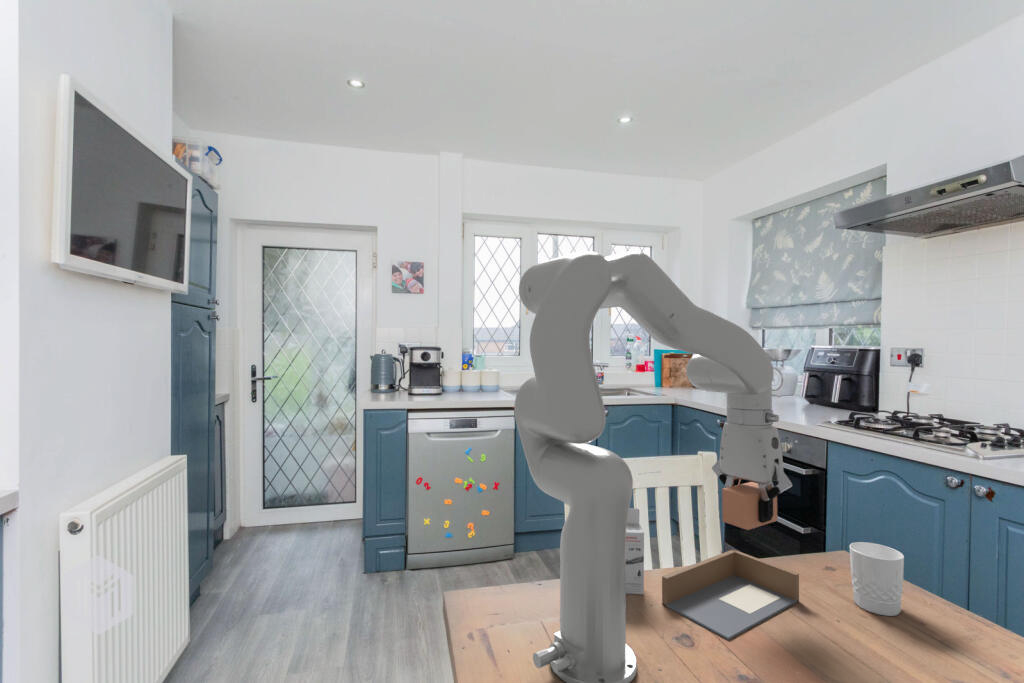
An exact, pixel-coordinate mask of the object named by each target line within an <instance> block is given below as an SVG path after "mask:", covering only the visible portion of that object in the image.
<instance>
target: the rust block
mask: <svg viewBox="0 0 1024 683" xmlns="http://www.w3.org/2000/svg"><path fill="white" fill-rule="evenodd" d="M721 489H722V490H721V498H722V500H721V501H722V503H721V505H722V507H721V510H722V513H721V514H722V517H721V518H722V522H723V523H726V524H728V525H732V526H735V527H737V528H740V529H744V530H746V531H749V530H752V529H756V528H760V527H761V526H765V525H768V524H771V523H774V522H778V496H777V497H776V498H774V499H773V517H772V519H771V520H770V521H767V522H764V523H762V522H760V521H759V512H758V501H759V500H761V499H762V497H761V494H760V490H759V487H758V483H756V482H752V481H748V482H744V483H740V484H739V485H736V486H732V487H727V488H725V487H724V488H721Z"/></svg>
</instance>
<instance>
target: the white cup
mask: <svg viewBox="0 0 1024 683" xmlns="http://www.w3.org/2000/svg"><path fill="white" fill-rule="evenodd" d="M849 561H850V574H851V585H852V595H853V600H854V601H853V602H854V604H856V605H857V606H858V607H859V608H860V609H862V610H865V611H867V612H870V613H873V614H876V615H880V616H887V617H892V616H893V617H895V616H898V615H899V614H900V613H901V611H902V597H903V586H904V571H905V570H904V568H905V566H904V565H905V562H904V561H905V556H904V554H903V553H902V552H901V551H899V550H897V549H894V548H892V547H890V546H887V545H883V544H879V543H875V542H866V541H858V542H852V543H850V544H849Z"/></svg>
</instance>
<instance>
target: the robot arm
mask: <svg viewBox="0 0 1024 683" xmlns="http://www.w3.org/2000/svg"><path fill="white" fill-rule="evenodd" d="M518 294H519V298H520V300H521V303H522V304H523V306H524V307H525V308H526V309H527V310H528V311H529V312H531V313H533V314H535V316H534V319H533V322H532V325H531V328H530V335H529V353H530V358H531V362H532V367H533V372H534V376H532V377H531V378H528V379H527V380H526V381H525V382H523V384H522V385H521V386H520V387H519V390H518V391H517V393H516V396H515V399H514V419H515V424H516V428H517V431H518V434H519V438H520V442H521V446H522V449H523V453H524V456H525V459H526V462H527V466H528V469H529V472H530V475H531V477H532V479H533V482H534V484H535V485H536V486H537V488H538V489H539V490H541V491H542V492H543V493H545V494H546V495H548V496H550V497H553V498H555V499H556V500H558V501H561V502H563V503H564V504H566V505H568V507H569V511H568V515H567V517H566V520H565V522H564V524H563V527H562V530H561V534H560V539H559V540H560V541H559V543H560V546H559V556H560V557H559V558H560V561H559V566H560V567H559V568H560V571H559V577H560V578H559V584H560V585H559V586H560V587H559V589H560V590H559V599H560V600H559V602H560V604H559V607H560V608H559V616H560V617H559V618H560V619H559V631H557V632H554V634H553V637H554V640H553V641H554V642H551V643H550V644H549V647H548V648H543V649H541V650H538V651H536V652H534V653H533V654H532V660H533V664H534V666H535V667H536V668H537V669H541V668H543V667H546V666H548V665H550V667H551V669H552V671H553V672H554V673H555V675H557V677H559V679H561V680H562V681H563V682H565V683H631V682H632V681H633V680H634V678H635V677H636V675H637V671H638V669H637V667H638V661H637V657H636V655H635V652H634V651H633V649H632V648H631V647H630V646H629V645H628V644H627V643H626V641H627V638H626V636H627V634H626V633H627V627H626V625H627V620H626V619H627V618H626V617H627V616H626V615H627V614H626V613H627V610H626V609H627V608H626V605H627V604H626V601H627V600H626V599H627V593H626V525H627V517H628V511H629V508H630V505H631V500H632V495H633V488H634V480H633V474H632V471H631V470H630V467H629V465H628V463H626V461H625V460H624V459H623V458H622V457H620V455H619V454H616V453H615V452H613V451H611V450H609V449H608V448H607V449H606V448H604V447H602V446H601V447H600V446H596V445H593V444H590V443H592V442H594V441H596V440H597V439H598V438H600V436H601V435H602V434H603V432H604V429H605V427H606V422H607V421H606V419H607V417H606V409H605V405H604V404H605V403H604V400H603V396H602V392H601V388H600V384H599V380H598V376H597V372H596V368H595V365H594V362H593V354H592V351H591V344H590V343H591V342H590V339H591V330H592V326H593V322H594V321H595V318H596V316H597V314H598V312H599V310H603V309H610V308H611V309H612V308H621V309H622V310H623V311H624V312H626V314H628V316H630V317H631V318H632V319H633V320H634V321H635V322H636V323H638V325H639V326H640V327H641V328H642V329H643V330H644V331H645V332H646V333H647V334H648V335H649V336H650V337H652V339H653V340H655V342H657V343H659V344H661V345H664V346H666V347H669V348H672V349H674V350H677V351H681V352H685V353H688V354H689V353H690V354H694V355H692V356H691V357H690V358H689V360H688V362H687V364H686V369H685V370H686V372H685V373H686V377H687V380H688V381H689V382H690V384H692V386H694V387H695V388H697V389H699V390H701V391H705V392H713V393H726V421H725V422H724V424H723V425H722V426H723V428H722V431H721V437H720V438H721V439H720V446H719V447H720V448H719V458H718V460H717V461H716V462H715V464H714V465H712V467H711V470H712V471H713V472H714V474H715V475H716V476H717V477H718V479H719V480H720V481H721V483H722V484H723V485H724V488H727V487H732V486H736V485H740V484H741V480H745V481H747V482H755V483H758V487H759V490H760V494H761V497H762V499H761V500H759V501H758V512H759V521H760V522H762V523H764V522H767V521H770V520H771V519H772V517H773V499H774V498H776V497H777V498H778V496H779V495H780V494H782V493H783V492H784V491H786V490H788V489H790V488H792V487H793V483H792V481H791V480H790V478H789V477H788V475H787V474H786V473H785V471H784V461H783V450H782V443H781V439H780V438H781V437H780V434H779V431H778V430H779V429H778V427H777V426H774V425H773V424H774V423H778V422H780V421H779V420H780V416H779V414H777V413H776V414H775V413H774V410H773V409H772V408H773V394H772V393H773V389H772V388H773V386H772V383H773V380H774V373H775V372H774V368H773V363H772V358H771V356H770V354H769V353H768V352H766V350H765V349H764V348H763V346H762V345H761V344H760V343H758V341H757V340H756V339H755V337H753V336H752V335H751V333H749V332H748V331H746V330H745V329H744V328H742V327H741V326H740V325H737V324H736V323H734V322H732V321H729V320H728V319H726V318H723V317H721V316H719V315H717V314H715V313H713V312H711V311H708V310H707V309H704V308H702V307H699V306H697V305H696V304H694V303H693V301H692V300H690V298H689V297H688V296H687V295H686V294H685V293H684V292H683V291H682V289H680V288H679V286H677V284H675V282H674V281H673V280H672V279H671V277H669V275H668V274H667V273H666V272H665V271H664V270H663V269H662V268H661V266H659V265H658V264H657V263H656V261H655V260H653V258H651V257H650V256H649V255H648V254H646V253H644V252H641V251H636V250H635V251H627V252H621V253H617V254H613V255H608V256H604V255H601V254H600V253H598V252H596V251H595V252H594V251H587V250H586V251H577V252H571V253H568V254H565V255H562V256H558V257H556V258H552V259H548V260H545V261H542V262H539V263H536V264H533V265H531V266H530V267H528V269H527V270H526V271H525V272H524V273H523V274H522V276H521V278H520V280H519V285H518ZM773 482H778V484H777V485H775V484H774V483H773ZM774 485H775V486H774Z"/></svg>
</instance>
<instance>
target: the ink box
mask: <svg viewBox="0 0 1024 683" xmlns="http://www.w3.org/2000/svg"><path fill="white" fill-rule="evenodd" d="M644 582H645V531H644V530H643V527H642V526H641V524H640V509H639V508H637V507H634V508H633V507H629V511H628V517H627V525H626V595H628V594H629V595H644V594H645V583H644Z"/></svg>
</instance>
